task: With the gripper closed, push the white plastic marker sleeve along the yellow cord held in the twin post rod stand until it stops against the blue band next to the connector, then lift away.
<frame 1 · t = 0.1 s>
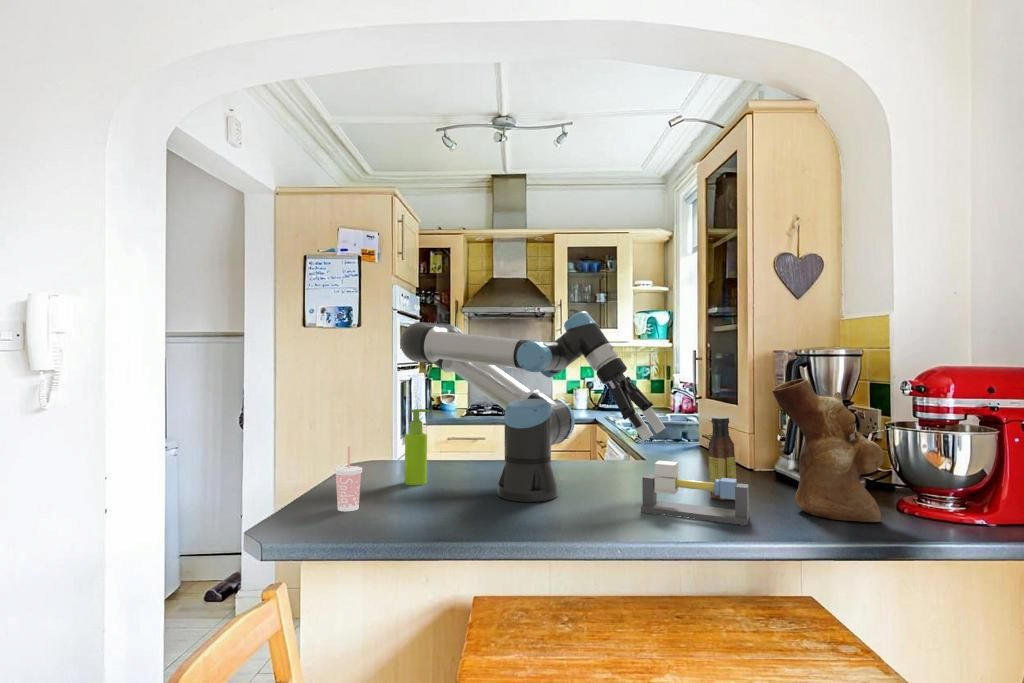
hand: (655, 434, 141), 15 cm above the countertop, tool tilted 35°, fingers open, 13 cm apart
sauce bottle: (722, 498, 139), on the countertop
twin post rod stand: (694, 514, 125), on the countertop
beverage cup: (348, 509, 129), on the countertop
soap dispenser: (417, 483, 154), on the countertop
ceramic vessel: (825, 514, 126), on the countertop
marker sleeve: (666, 477, 128), point 8 cm above the countertop, slide at 0.0 cm
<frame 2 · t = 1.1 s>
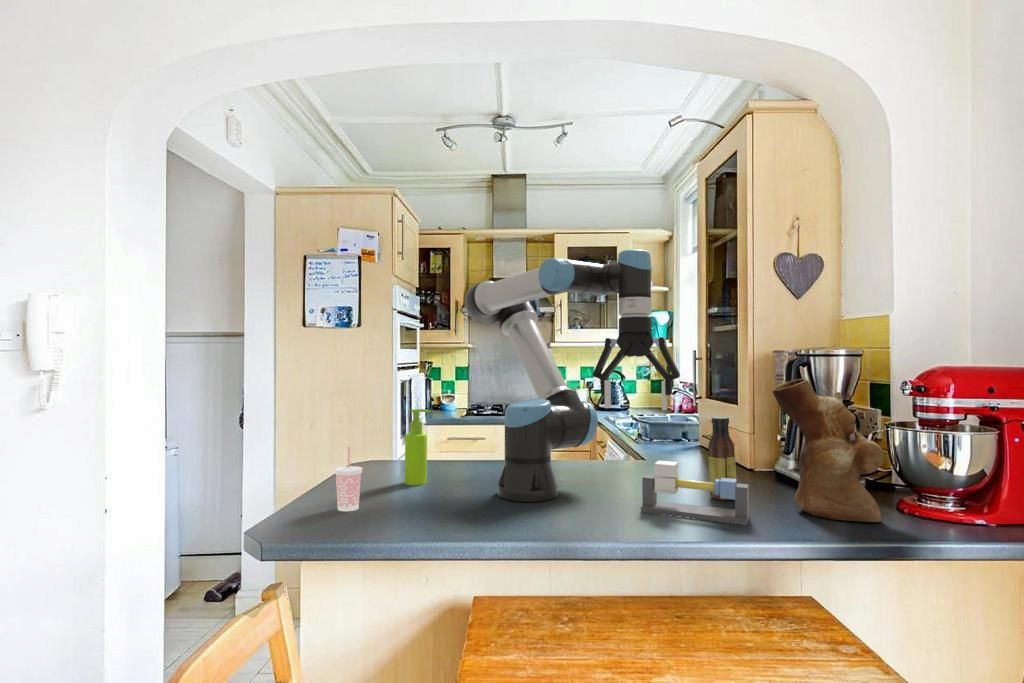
hand: (635, 408, 132), 23 cm above the countertop, tool pointing down, fingers open, 12 cm apart
nothing on the countertop moved.
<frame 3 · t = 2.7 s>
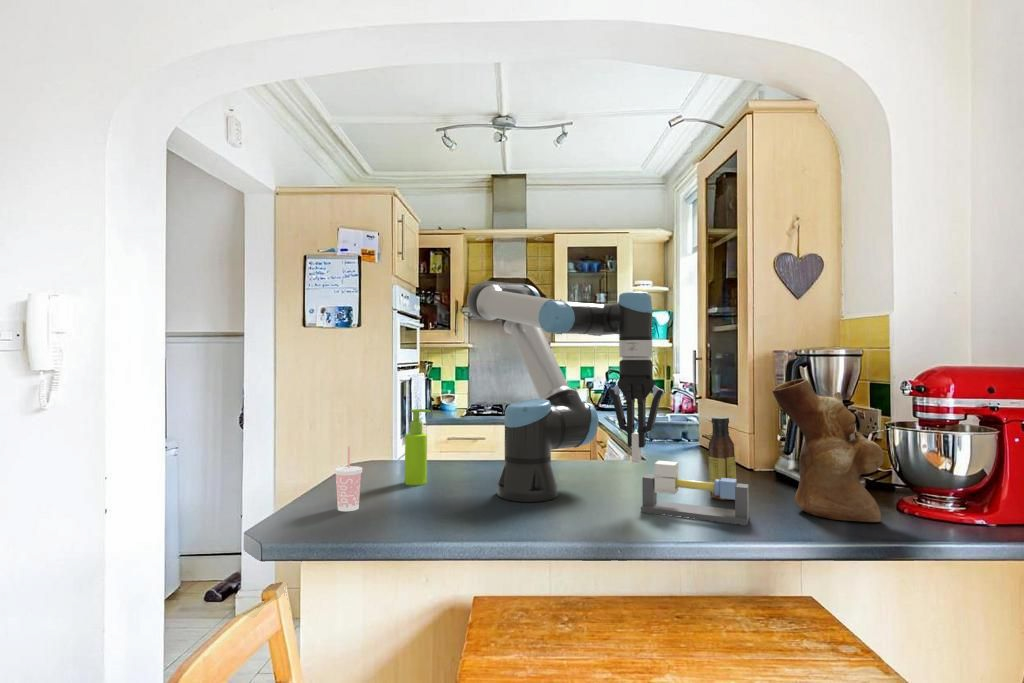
hand: (636, 461, 131), 11 cm above the countertop, tool pointing down, fingers closed
nothing on the countertop moved.
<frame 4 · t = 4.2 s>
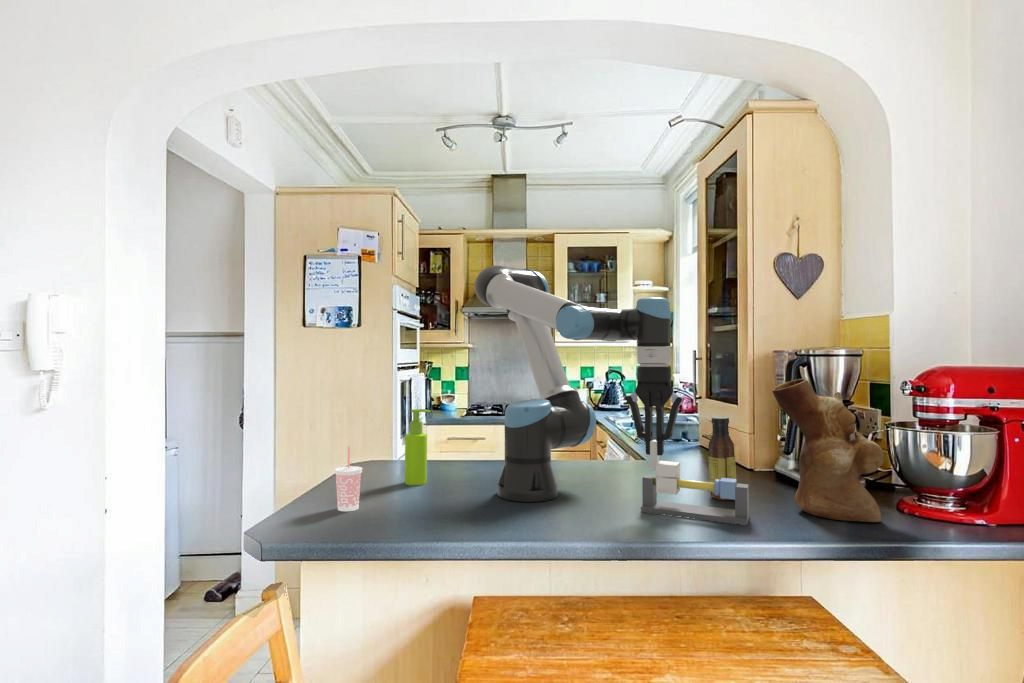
hand: (654, 469, 129), 9 cm above the countertop, tool pointing down, fingers closed
marker sleeve: (668, 477, 128), point 8 cm above the countertop, slide at 0.4 cm, touching gripper
everything else where it was.
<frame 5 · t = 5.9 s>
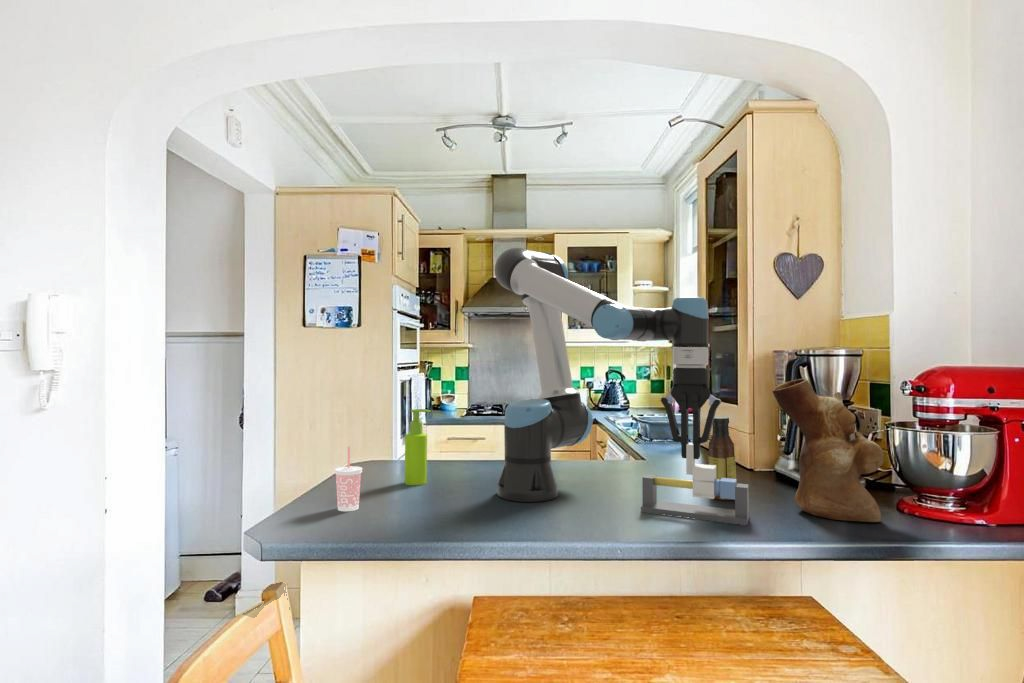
hand: (690, 473, 125), 9 cm above the countertop, tool pointing down, fingers closed
marker sleeve: (704, 480, 124), point 8 cm above the countertop, slide at 8.2 cm, touching twin post rod stand, gripper
everything else where it was.
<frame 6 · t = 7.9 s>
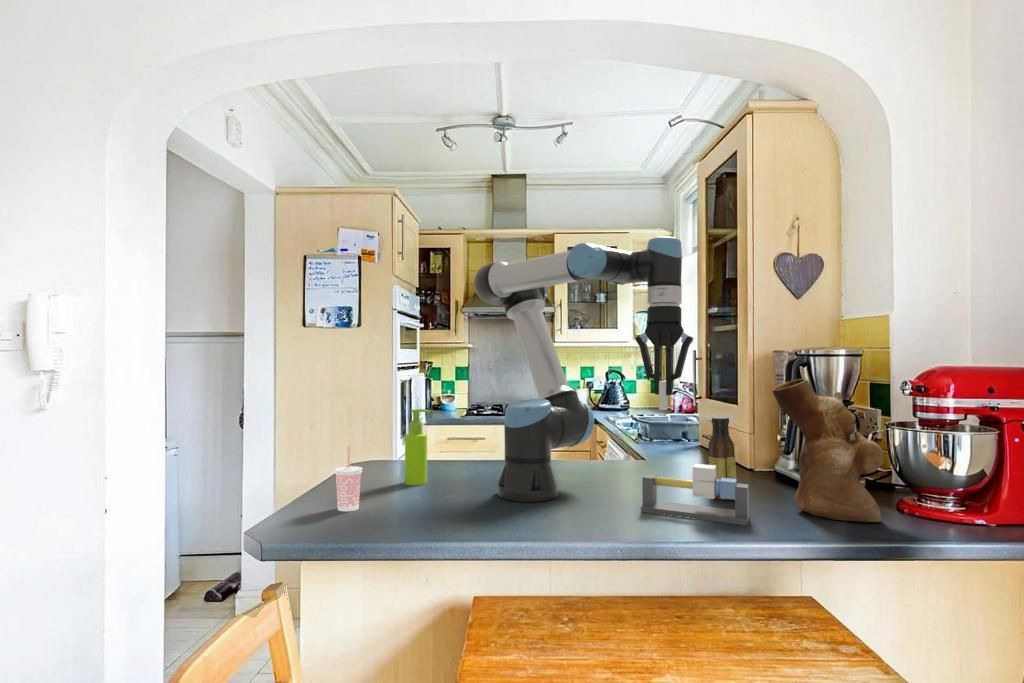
hand: (663, 409, 129), 23 cm above the countertop, tool pointing down, fingers closed
marker sleeve: (704, 480, 124), point 8 cm above the countertop, slide at 8.2 cm, touching twin post rod stand
everything else where it was.
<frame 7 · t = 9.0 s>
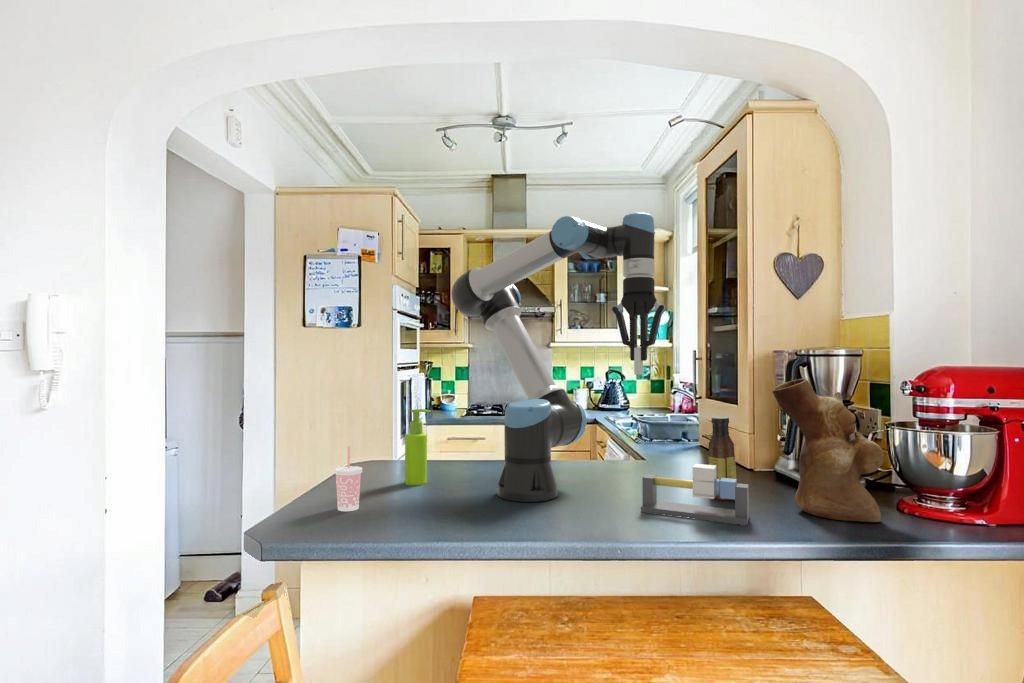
hand: (638, 374, 138), 30 cm above the countertop, tool pointing down, fingers closed
nothing on the countertop moved.
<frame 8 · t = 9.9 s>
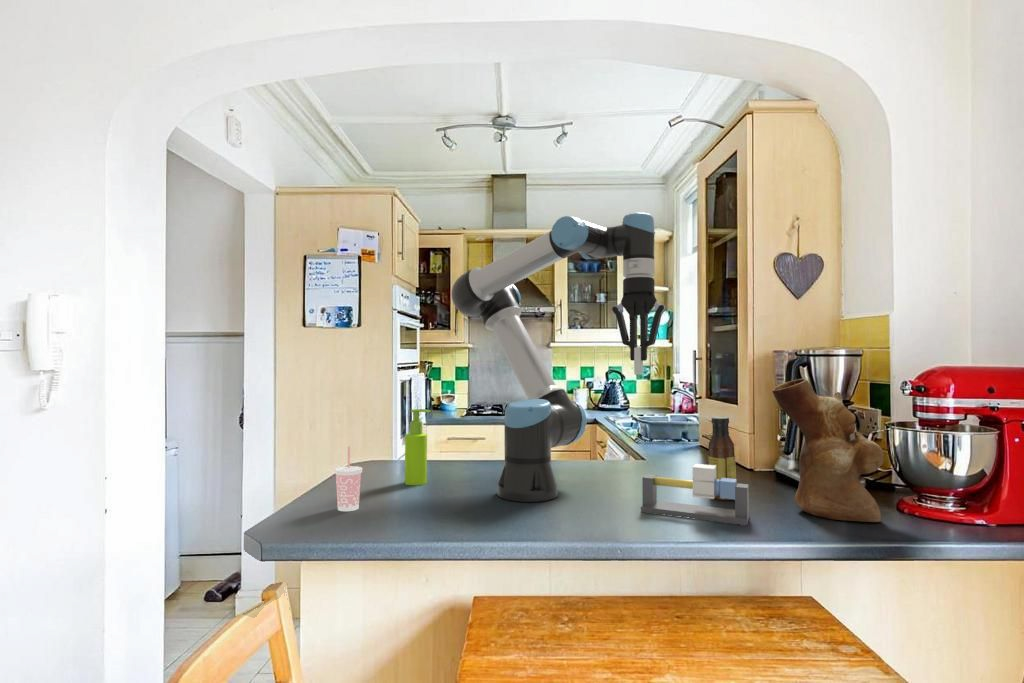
hand: (638, 374, 138), 30 cm above the countertop, tool pointing down, fingers closed
nothing on the countertop moved.
at the end: marker sleeve slide at 8.2 cm; marker sleeve touching twin post rod stand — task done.
